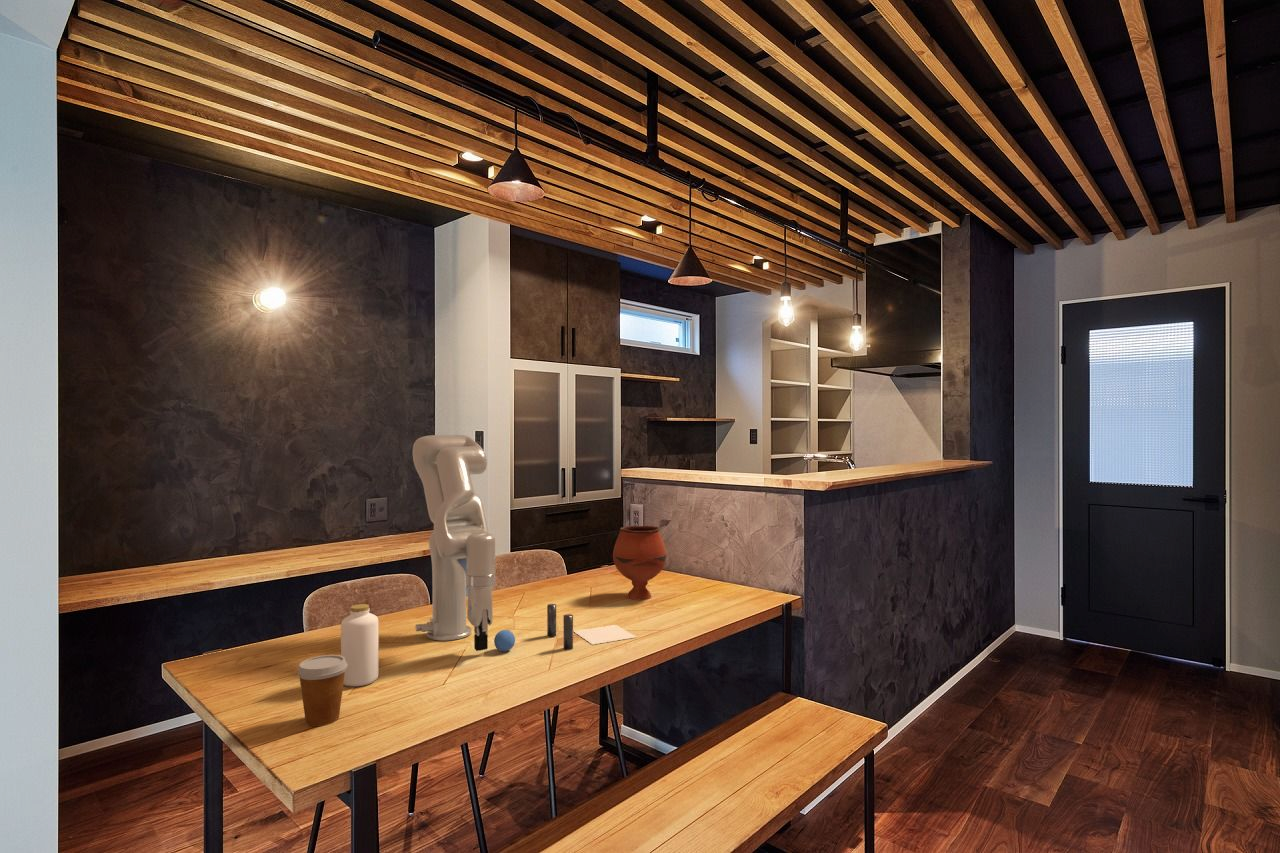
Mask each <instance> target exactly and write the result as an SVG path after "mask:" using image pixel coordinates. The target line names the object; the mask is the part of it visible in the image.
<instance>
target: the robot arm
mask: <svg viewBox="0 0 1280 853" xmlns="http://www.w3.org/2000/svg"><path fill="white" fill-rule="evenodd" d="M412 458H413V466H414V467H415V470H416V472H417V474H418V476H419V478H420V480H421V483H422V485H423V490H424V491H423V492H424V496H425V502H426V505H427V506H426V507H427V512H428V517H429V519H430V521H431V522H432V523H433V531H432V532H431V533H430V535H429V539H428V548H429V552H430V557H431V558H430V559H431V569H432V570H431V573H432V574H431V575H432V618H430V619H429V621H427V622H426V623H419V624H415V632H422V633H426V638H428V639H430V640H435V641H445V642H446V641H455V640H459V639H463V638H466V637H469V635H471V634H472V627H470V626H469V625H467V620H468V622H469V623H470V624H471V625H472V626H473V627H474V629H473V630H474V635H473V637H474V638H473V640H474V641H473V643H474V644H473V648H474V650H475V651H477V652H478V651H485V650H488V646H489V645H488V644H489V641H488V639H489V634H488V633H489V632H488V629H489V628H488V627H489V626H491V625H492V623H493V620H494V618H493V613H494V612H493V611H494V610H493V587H495V586H496V538H495V536H494V534H492V533H490V532H489V529H488V525H487V519H486V515H485V510H484V506H483V503H482V500H481V498H480V496H479V495H478V494H477V493H476V492H475V491H474V486H473V482H472V478H471V475H481V474H483V473H484V472H485V471H486V470H487V465H488V460H487V454H486V452H485V450H484V449H483V448H482V446H481V445H480V444H478V443H477V442H476V440H474V439H473V438H472V437H470V436H468V435H464V434H463V435H462V434H452V435H451V434H449V435H448V434H446V435H445V434H436V435H435V434H431V435H425V436H422V437H419V438H417V439H416V440H415V441H414V442H413V445H412ZM458 524H465V525H458ZM448 525H451V526H448ZM461 559H465V560H466V563H465V564H466V565H465V568H466V570H465V569H464V567H463V566H462V564H460V562H459V561H458V560H461ZM467 589H468V593H467ZM467 594H468V595H467Z"/></svg>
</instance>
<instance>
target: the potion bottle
mask: <svg viewBox="0 0 1280 853" xmlns="http://www.w3.org/2000/svg"><path fill="white" fill-rule="evenodd" d="M370 610H371V609H370V604H366V603H363V604H362V603H361V604H360V603H359V604H353V605H351V606H350V611H349V613H350V614H349V615H347V616H346V617H345V618H343V619H342V620H341V622H340V656H343V657H344V658H345V661H346V663H347V664H348V666H347V668H346V670H345V675H344V683H343V686H346V687H351V688H354V687H364V686H368V685H370V684H372V683H374V682H375V681H376V680H377V679H378V677H379V618H378V616H377V615H375V614H373V613H371V612H370Z"/></svg>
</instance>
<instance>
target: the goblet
mask: <svg viewBox="0 0 1280 853" xmlns="http://www.w3.org/2000/svg"><path fill="white" fill-rule="evenodd" d="M666 549H667V548H666V546H665V543H664V540H663V538H662V534H661V532H660V527H658V526H654V525H653V526H652V525H634V526H633V525H628V526H623V527H620V528H619V534H618V535H617V538H616V541H615V544H614V546H613V550H612V560H613V563H614V566H615V568H616V569H617V570H618V572H619V573H620V574H621V575H622V576H624V577H625V578H626V579H628V580H630V581H631V585H632V586H633V587H632V589H630V590H629V591H628V593H627V594H626V597H627V599H629V600H636V601H644V600H649V599H651V598H652V594H651V592H650V590H648V588H647V585H649V581H650V580H652V579H654V578H656V576H658V575H659V573H661V572H662V570H663V569H664V567H665V565H666V562H667V550H666Z"/></svg>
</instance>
